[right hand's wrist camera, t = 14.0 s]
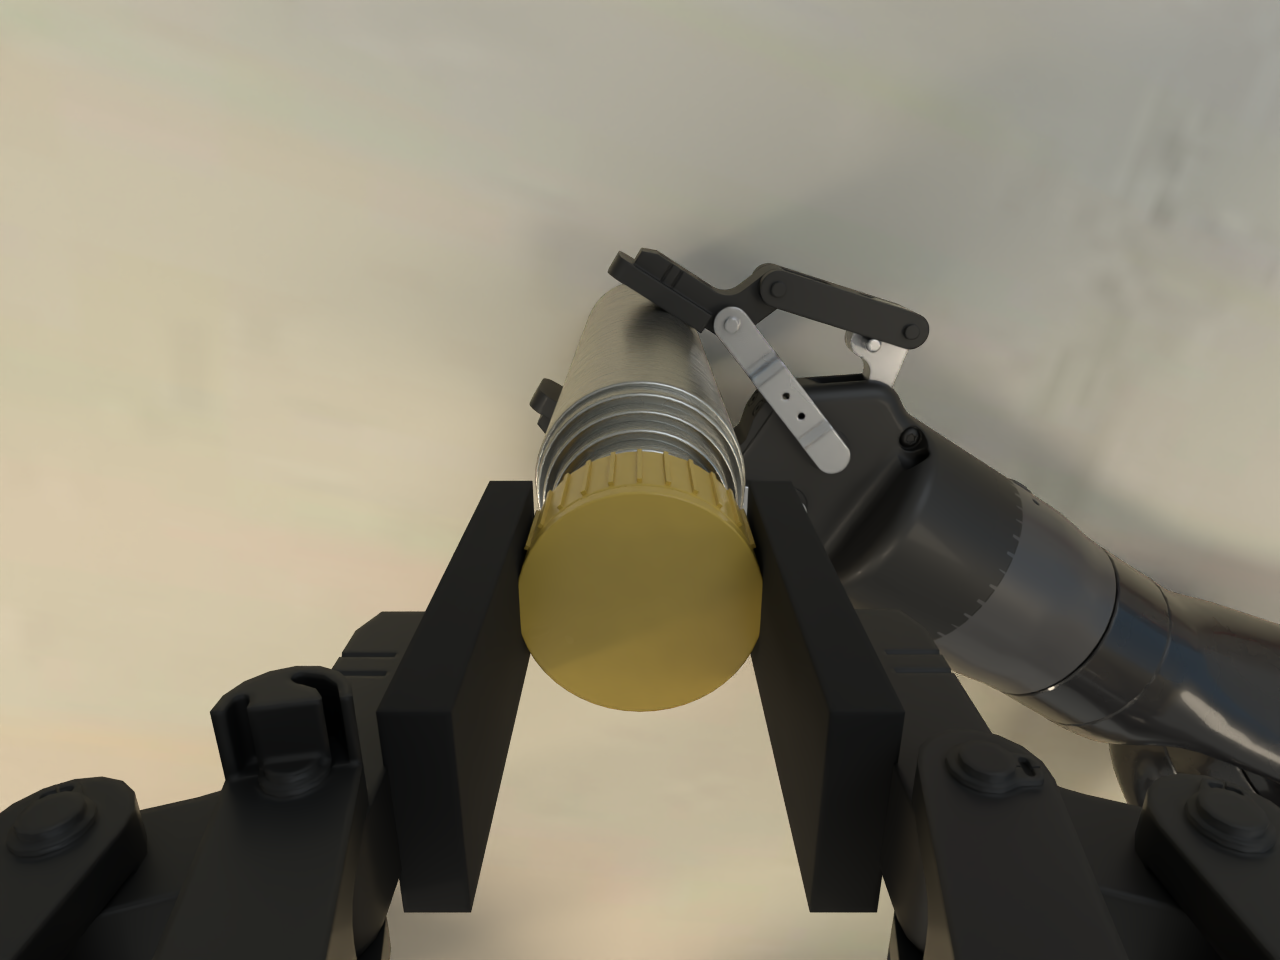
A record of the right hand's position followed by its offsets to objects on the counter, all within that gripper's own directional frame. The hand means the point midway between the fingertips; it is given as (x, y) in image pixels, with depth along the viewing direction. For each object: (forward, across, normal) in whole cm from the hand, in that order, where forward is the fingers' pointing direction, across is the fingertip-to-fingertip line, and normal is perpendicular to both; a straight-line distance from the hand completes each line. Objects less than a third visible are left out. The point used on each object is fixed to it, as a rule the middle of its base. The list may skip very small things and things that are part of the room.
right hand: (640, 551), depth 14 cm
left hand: (+15, -2, +1) cm, 15 cm away
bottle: (+21, 0, 0) cm, 21 cm away
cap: (-2, 0, 0) cm, 2 cm away
